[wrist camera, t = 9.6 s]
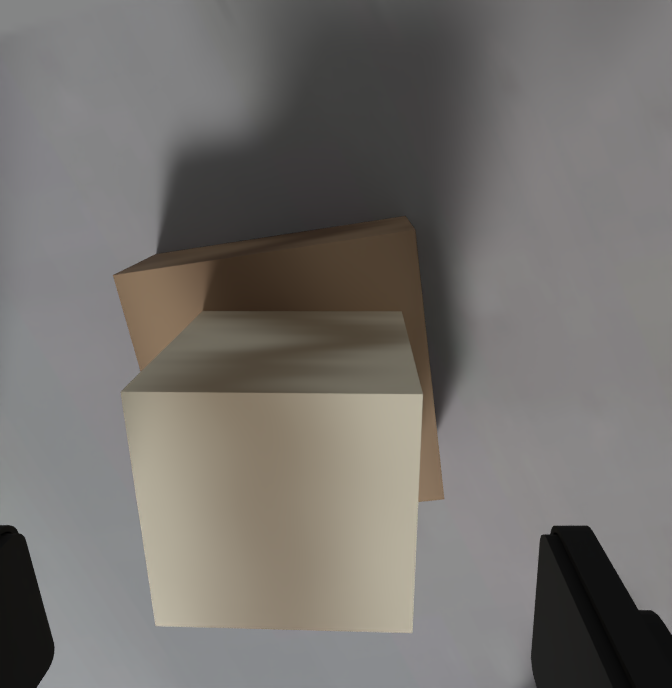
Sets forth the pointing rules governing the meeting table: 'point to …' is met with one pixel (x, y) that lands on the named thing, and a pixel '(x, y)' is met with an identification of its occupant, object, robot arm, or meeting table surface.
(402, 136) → the meeting table surface
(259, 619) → the birch block
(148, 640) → the meeting table surface
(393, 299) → the walnut block
